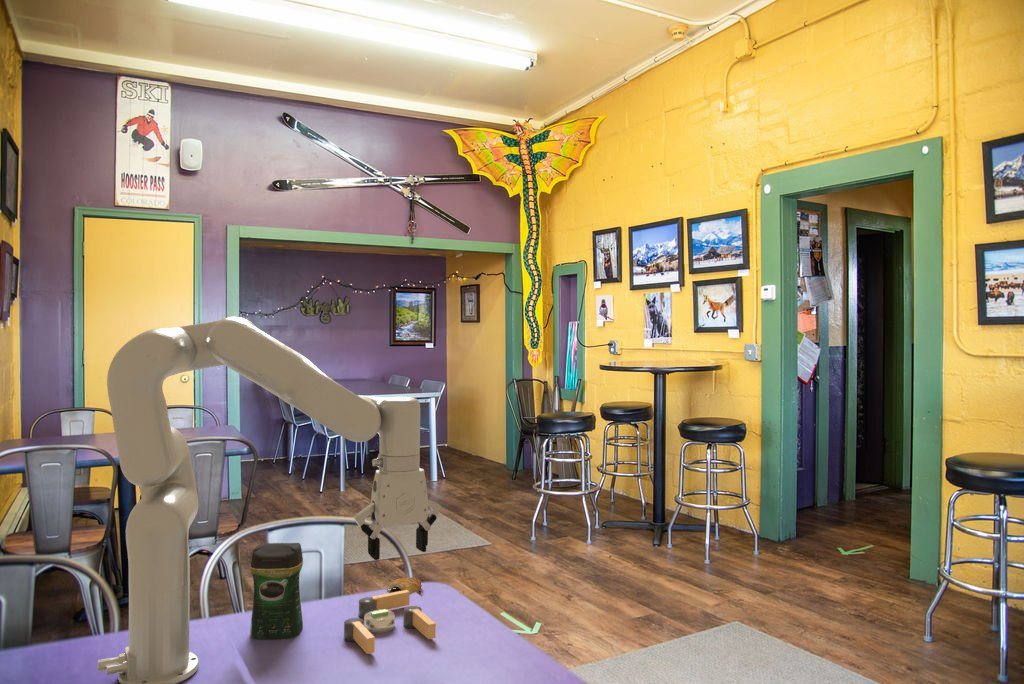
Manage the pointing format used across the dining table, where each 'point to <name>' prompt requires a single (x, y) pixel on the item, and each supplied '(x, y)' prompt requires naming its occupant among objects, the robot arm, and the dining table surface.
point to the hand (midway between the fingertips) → (398, 553)
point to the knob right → (419, 621)
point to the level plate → (379, 621)
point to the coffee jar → (276, 591)
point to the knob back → (383, 602)
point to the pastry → (405, 585)
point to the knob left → (359, 634)
